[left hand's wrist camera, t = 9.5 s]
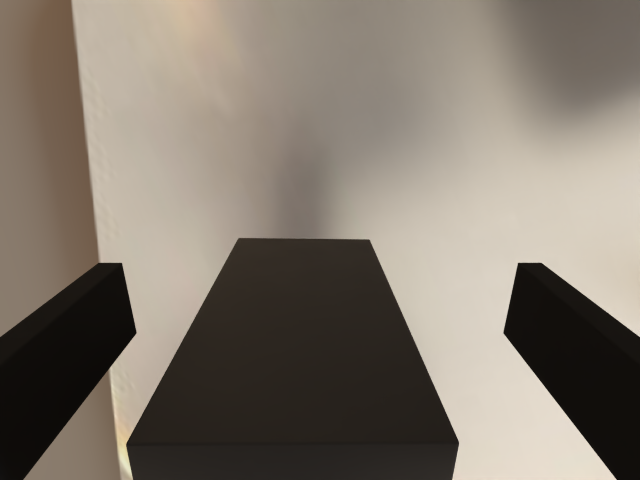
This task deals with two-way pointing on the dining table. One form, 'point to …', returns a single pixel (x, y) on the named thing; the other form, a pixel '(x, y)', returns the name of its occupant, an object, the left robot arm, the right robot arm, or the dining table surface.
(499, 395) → the dining table surface
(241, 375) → the box
